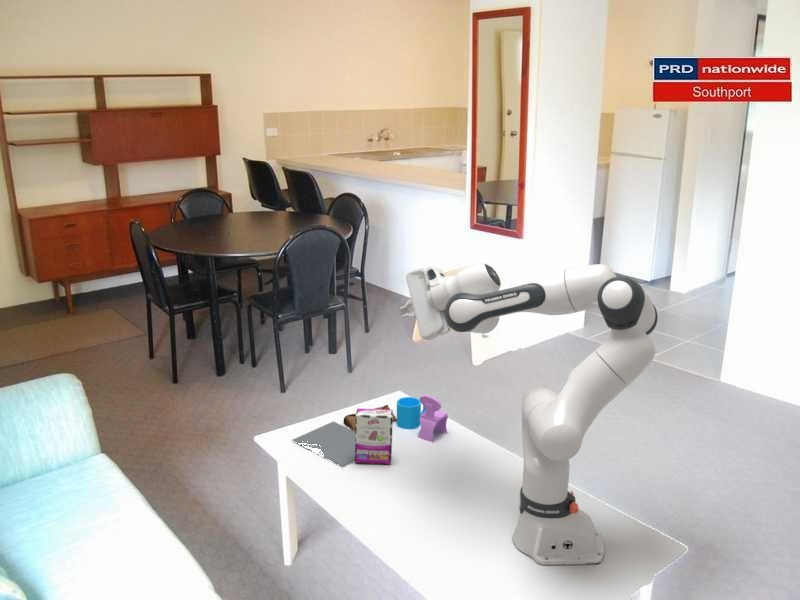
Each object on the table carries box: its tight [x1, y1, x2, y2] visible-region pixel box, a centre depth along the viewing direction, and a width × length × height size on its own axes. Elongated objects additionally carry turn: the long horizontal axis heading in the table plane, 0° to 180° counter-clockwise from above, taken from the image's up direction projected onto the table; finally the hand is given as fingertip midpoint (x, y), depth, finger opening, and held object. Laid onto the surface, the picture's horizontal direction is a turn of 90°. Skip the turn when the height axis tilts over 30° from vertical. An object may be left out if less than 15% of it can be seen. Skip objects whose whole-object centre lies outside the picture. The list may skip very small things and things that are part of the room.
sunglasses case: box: [343, 404, 397, 431], centre depth 241 cm, size 18×7×7 cm, turn 123°
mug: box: [396, 396, 425, 430], centre depth 240 cm, size 12×8×8 cm
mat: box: [292, 421, 355, 468], centre depth 226 cm, size 24×18×1 cm
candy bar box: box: [354, 408, 394, 465], centre depth 213 cm, size 11×5×16 cm, turn 88°
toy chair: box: [417, 394, 449, 443], centre depth 230 cm, size 8×9×15 cm
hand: (401, 313), depth 200 cm, fingers closed
